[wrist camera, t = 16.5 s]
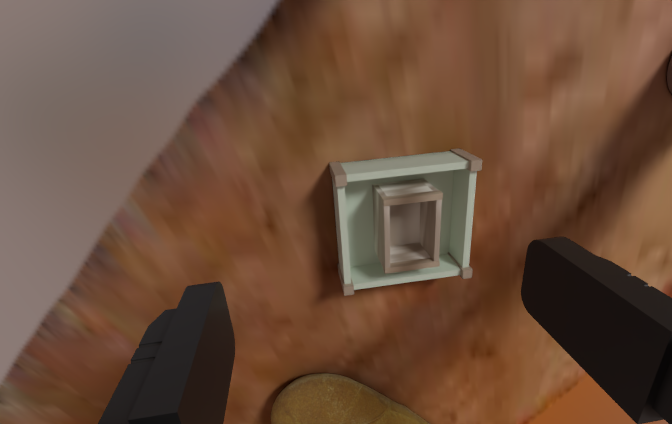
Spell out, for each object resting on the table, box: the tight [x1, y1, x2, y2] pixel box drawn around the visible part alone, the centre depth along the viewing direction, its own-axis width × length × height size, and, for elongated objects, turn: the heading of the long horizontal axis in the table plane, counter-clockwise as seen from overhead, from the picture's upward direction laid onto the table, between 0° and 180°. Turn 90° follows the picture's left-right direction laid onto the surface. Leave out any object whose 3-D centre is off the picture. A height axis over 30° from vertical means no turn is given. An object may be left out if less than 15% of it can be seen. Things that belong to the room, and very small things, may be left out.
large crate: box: [329, 149, 482, 296], centre depth 43 cm, size 16×15×5 cm
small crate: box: [372, 178, 443, 274], centre depth 42 cm, size 6×9×6 cm
